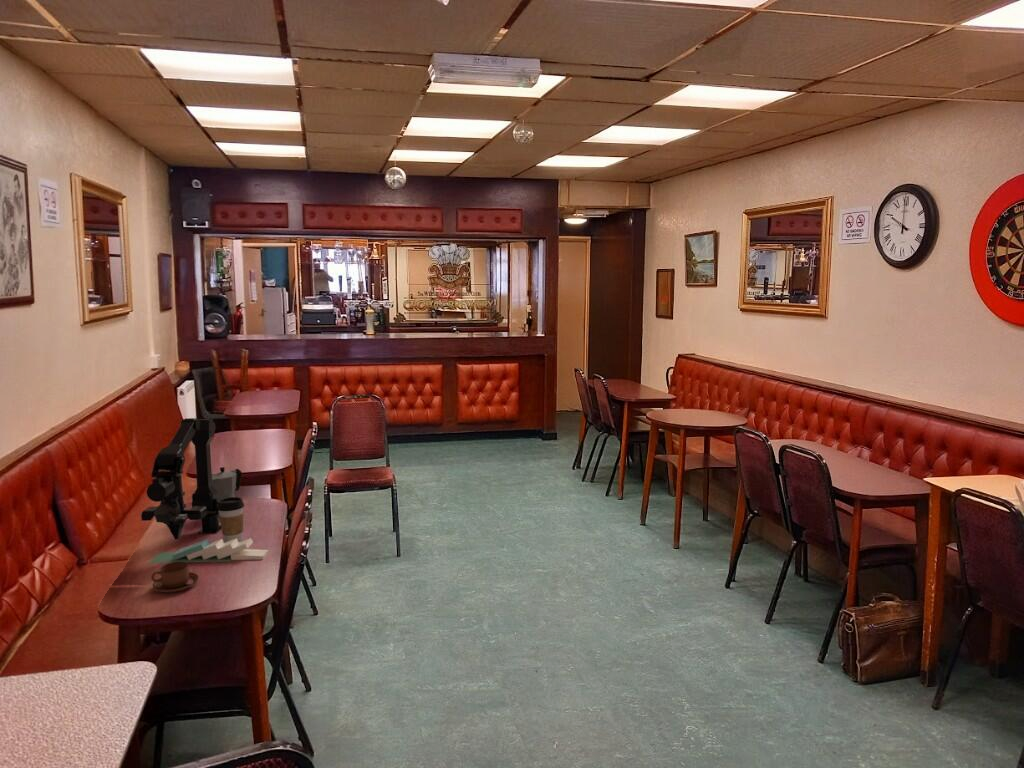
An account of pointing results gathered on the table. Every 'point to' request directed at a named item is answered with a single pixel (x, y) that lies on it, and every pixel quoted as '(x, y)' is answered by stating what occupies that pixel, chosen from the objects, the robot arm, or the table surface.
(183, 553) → the domino
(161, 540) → the table surface
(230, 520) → the coffee cup
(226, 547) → the domino
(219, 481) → the coffeepot
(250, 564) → the table surface
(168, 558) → the baize strip
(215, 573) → the table surface
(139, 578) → the table surface
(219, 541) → the domino
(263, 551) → the domino
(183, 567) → the cup and saucer
